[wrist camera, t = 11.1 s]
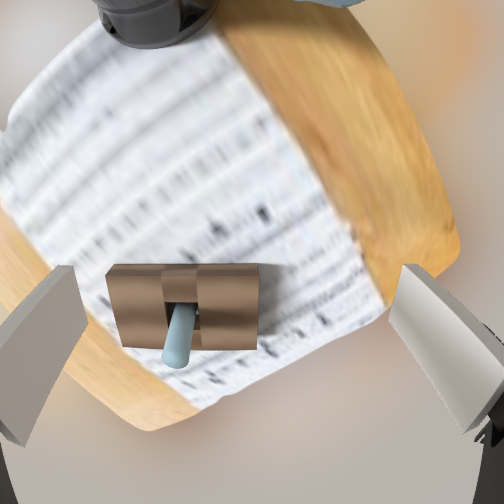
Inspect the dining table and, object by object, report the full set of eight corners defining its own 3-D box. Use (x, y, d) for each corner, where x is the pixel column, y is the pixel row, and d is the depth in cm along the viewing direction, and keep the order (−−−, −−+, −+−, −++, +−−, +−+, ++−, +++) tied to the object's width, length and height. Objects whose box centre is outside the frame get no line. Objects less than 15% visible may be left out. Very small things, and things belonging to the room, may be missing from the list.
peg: (176, 292, 40) (160, 348, 29) (197, 293, 41) (187, 349, 30) (177, 310, 41) (163, 367, 30) (197, 311, 42) (189, 369, 31)
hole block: (113, 264, 38) (105, 275, 35) (256, 263, 39) (259, 275, 36) (128, 333, 43) (122, 346, 39) (254, 334, 44) (256, 349, 41)
